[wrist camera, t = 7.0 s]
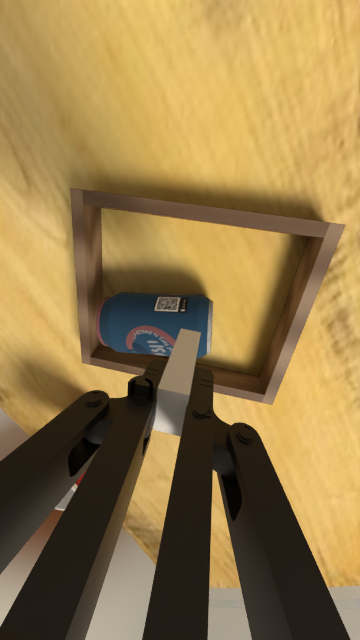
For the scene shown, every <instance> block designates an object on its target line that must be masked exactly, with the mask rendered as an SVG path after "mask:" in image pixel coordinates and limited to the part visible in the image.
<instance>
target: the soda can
mask: <svg viewBox="0 0 360 640" xmlns="http://www.w3.org/2000/svg"><path fill="white" fill-rule="evenodd" d="M212 317H213V301H211V300H210V299H208V298H207V297H205V296H203V295H201V294H164V293H126V292H122V293H119V294H117V295H115V296H113V297H107V298H105V299H104V300H103V301H102V302H101V304H100V306H99V308H98V311H97V316H96V332H97V336H98V339H99V341H100V342H101V343H102V344H103V345H104V346H109V347H111V348H112V349H114V350H115V351H117V352H124V353H136V354H149V355H162V356H170V355H171V353H172V350H173V348H174V345H175V342H176V340H177V337H178V335H179V332H180V330H181V329H186V330H191V331H196V332H201V335H200V340H199V346H198V351H197V357H196V358H200V357H202V356H205V355H207V354H209V353H211V338H212Z"/></svg>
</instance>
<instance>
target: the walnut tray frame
mask: <svg viewBox="0 0 360 640" xmlns="http://www.w3.org/2000/svg"><path fill="white" fill-rule="evenodd" d="M70 192H71V207H72V222H73V236H74V251H75V266H76V281H77V296H78V311H79V326H80V341H81V356H82V363H85V364H89V365H94V366H98V367H103V368H107V369H112V370H116V371H121V372H125V373H130V374H135V375H139V376H142V375H143V374H144V372H145V370H146V368H147V366H148V364H149V362H151V361H152V360H154V359H159V360H164V361H168V360H169V358H168V357H163V356H158V355H149V354H136V353H124V352H117V351H115V350H114V349H112V348H111V347H109V346H104V345H103V344H102V343H101V342H100V341H99V339H98V336H97V332H96V316H97V311H98V308H99V306H100V304H101V302H102V301H103V291H102V232H101V208H108V209H115V210H122V211H129V212H136V213H144V214H151V215H158V216H165V217H172V218H179V219H186V220H193V221H200V222H208V223H215V224H222V225H229V226H236V227H243V228H250V229H257V230H264V231H272V232H279V233H286V234H293V235H300V236H307V237H309V238H308V241H307V244H306V247H305V250H304V252H303V255H302V258H301V261H300V264H299V267H298V270H297V272H296V275H295V278H294V281H293V284H292V287H291V289H290V292H289V295H288V298H287V301H286V304H285V307H284V309H283V312H282V315H281V318H280V321H279V324H278V326H277V329H276V332H275V335H274V338H273V341H272V344H271V346H270V349H269V352H268V355H267V358H266V361H265V363H264V366H263V369H262V372H261V375H260V377H259V376H254V375H249V374H244V373H240V372H235V371H230V370H225V369H220V368H216V367H211V366H206V365H201V364H196V363H195V367H200V368H204V369H209V370H211V371H212V373H213V375H214V386H213V392H216V393H220V394H225V395H230V396H234V397H239V398H243V399H248V400H252V401H257V402H261V403H266V404H270V405H272V404H273V402H274V399H275V397H276V394H277V392H278V389H279V387H280V384H281V382H282V379H283V377H284V375H285V372H286V370H287V367H288V365H289V362H290V360H291V357H292V355H293V353H294V350H295V348H296V345H297V343H298V340H299V338H300V335H301V333H302V330H303V328H304V326H305V323H306V321H307V318H308V316H309V313H310V311H311V308H312V306H313V303H314V301H315V299H316V296H317V294H318V291H319V289H320V286H321V284H322V281H323V279H324V276H325V274H326V272H327V269H328V267H329V264H330V262H331V259H332V257H333V254H334V252H335V249H336V247H337V245H338V242H339V240H340V237H341V235H342V232H343V230H344V227H345V225H344V224H337V223H329V222H322V221H314V220H307V219H299V218H292V217H284V216H277V215H269V214H262V213H254V212H246V211H239V210H231V209H224V208H216V207H209V206H201V205H194V204H186V203H179V202H171V201H164V200H156V199H149V198H141V197H134V196H126V195H119V194H111V193H103V192H96V191H88V190H81V189H73V188H70Z"/></svg>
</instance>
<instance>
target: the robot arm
mask: <svg viewBox="0 0 360 640" xmlns="http://www.w3.org/2000/svg"><path fill="white" fill-rule="evenodd" d="M200 335H201V332H196V331H191V330H186V329H181V330H180V332H179V335H178V337H177V340H176V342H175V345H174V348H173V350H172V353H171V355H170V358H169V360H168V361H164V360H159V359H154V360H152V361H151V362H149V364H148V366H147V368H146V370H145V372H144V374H143V375H142V376H136V377H134V378H132V379H130V381H129V382H128V396H126V397H123V398H109V396H108V394H107V393H105V392H104V391H100V390H93V391H90V392H87V393H85V394H84V395H82V396H81V397H80V398H79V399H77V400H76V401H75V402H74V403H72V404H71V405H70V406H69V407H67V408H66V409H65V410H64V411H62V412H61V413H60V414H59V415H57V416H56V417H55V418H54V419H52V420H51V421H50V422H49V423H48V424H46V425H45V426H44V427H43V428H41V429H40V430H39V431H38V432H36V433H35V434H34V435H33V436H31V437H30V438H29V439H28V440H27V441H25V442H24V443H23V444H21V445H20V446H19V447H18V448H17V449H15V450H14V451H13V452H11V453H10V454H9V455H8V456H7V457H5V458H4V459H3V460H2V461H0V574H1V573H2V571H3V570H4V569H5V568H6V567H7V565H8V564H9V563H10V562H11V561H12V559H13V558H14V557H15V556H16V555H17V553H18V552H19V551H20V550H21V549H22V547H23V546H24V545H25V544H26V542H27V541H28V540H29V539H30V538H31V536H32V535H33V534H34V533H35V532H36V530H37V529H38V528H39V527H40V525H41V524H42V523H43V522H44V521H45V519H46V518H47V517H48V516H49V515H50V513H51V512H52V511H53V510H54V509H55V507H56V506H57V505H58V504H59V502H60V501H61V500H62V499H63V498H64V496H65V495H66V494H67V493H68V492H69V490H70V489H71V488H72V487H73V486H74V484H75V483H76V482H77V481H78V479H79V478H80V477H81V476H82V475H83V473H84V472H85V471H86V472H85V474H84V476H83V478H82V479H81V481H80V483H79V485H78V487H77V489H76V490H75V492H74V494H73V496H72V498H71V499H70V501H69V503H68V505H67V507H66V509H65V510H64V512H63V514H62V516H61V518H60V520H59V521H58V523H57V525H56V527H55V529H54V530H53V532H52V534H51V536H50V538H49V540H48V541H47V543H46V545H45V547H44V549H43V550H42V553H41V554H40V556H39V558H38V560H37V561H36V563H35V565H34V567H33V569H32V570H31V572H30V574H29V576H28V578H27V580H26V581H25V583H24V585H23V587H22V589H21V591H20V592H19V594H18V596H17V598H16V600H15V601H14V603H13V605H12V607H11V609H10V610H9V612H8V614H7V616H6V618H5V620H4V621H3V623H2V625H1V627H0V640H85V637H86V634H87V631H88V628H89V625H90V622H91V619H92V616H93V613H94V610H95V607H96V604H97V601H98V598H99V594H100V592H101V589H102V585H103V582H104V579H105V576H106V573H107V570H108V567H109V564H110V561H111V558H112V555H113V552H114V549H115V545H116V543H117V540H118V536H119V533H120V530H121V527H122V524H123V521H124V518H125V515H126V512H127V509H128V506H129V503H130V500H131V497H132V494H133V491H134V487H135V484H136V481H137V478H138V475H139V472H140V469H141V466H142V463H143V460H144V457H145V454H146V451H147V448H148V445H149V442H150V436H151V431H152V428H153V430H157V431H161V432H165V433H169V434H173V435H177V436H181V438H180V443H179V449H178V454H177V459H176V464H175V470H174V475H173V480H172V486H171V491H170V496H169V501H168V507H167V512H166V517H165V522H164V528H163V533H162V538H161V544H160V549H159V554H158V559H157V565H156V570H155V575H154V580H153V586H152V591H151V596H150V602H149V607H148V612H147V617H146V623H145V628H144V633H143V638H142V640H207V637H208V604H209V572H210V539H211V506H212V474H213V470H215V471H216V472H217V475H218V480H219V485H220V490H221V494H222V499H223V504H224V509H225V513H226V518H227V523H228V528H229V532H230V537H231V542H232V547H233V551H234V556H235V561H236V566H237V570H238V575H239V580H240V585H241V589H242V594H243V598H244V604H245V608H246V613H247V618H248V622H249V627H250V632H251V637H252V640H350V638H349V635H348V633H347V631H346V628H345V626H344V624H343V622H342V620H341V617H340V615H339V613H338V611H337V608H336V606H335V604H334V602H333V599H332V597H331V595H330V593H329V591H328V588H327V586H326V584H325V581H324V579H323V577H322V575H321V572H320V570H319V568H318V566H317V564H316V561H315V559H314V557H313V555H312V552H311V550H310V548H309V546H308V543H307V541H306V539H305V537H304V534H303V532H302V530H301V528H300V525H299V523H298V521H297V519H296V516H295V514H294V512H293V510H292V507H291V505H290V503H289V501H288V499H287V496H286V494H285V492H284V490H283V487H282V485H281V483H280V481H279V478H278V476H277V474H276V472H275V469H274V467H273V465H272V463H271V460H270V458H269V456H268V454H267V451H266V449H265V447H264V445H263V443H262V440H261V438H260V436H259V434H258V433H257V431H256V430H255V429H254V428H252V427H251V426H249V425H247V424H245V423H240V422H239V423H234V424H233V425H229V424H227V423H225V422H223V421H222V420H220V419H219V418H218V417H217V416H216V414H215V413H214V411H213V386H214V375H213V373H212V371H211V370H209V369H204V368H200V367H195V363H196V357H197V351H198V346H199V340H200Z"/></svg>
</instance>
